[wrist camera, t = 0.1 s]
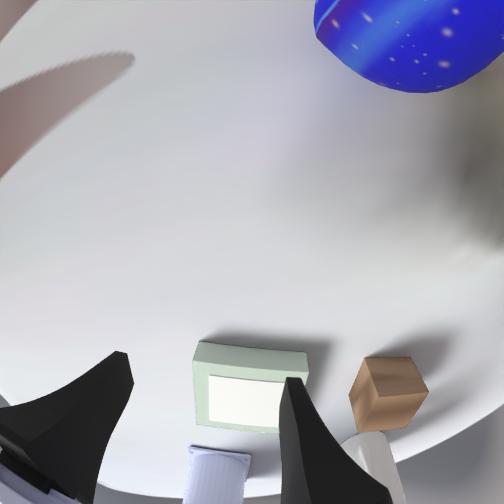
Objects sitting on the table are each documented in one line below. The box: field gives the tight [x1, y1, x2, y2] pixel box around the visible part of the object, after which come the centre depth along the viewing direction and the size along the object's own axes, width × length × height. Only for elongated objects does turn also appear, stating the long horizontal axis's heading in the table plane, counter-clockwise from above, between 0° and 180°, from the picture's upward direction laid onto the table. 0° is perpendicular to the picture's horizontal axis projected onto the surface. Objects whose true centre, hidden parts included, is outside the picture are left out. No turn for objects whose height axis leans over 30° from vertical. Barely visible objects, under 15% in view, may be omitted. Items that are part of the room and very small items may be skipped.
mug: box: [340, 431, 407, 504], centre depth 22 cm, size 10×7×12 cm, turn 20°
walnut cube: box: [349, 357, 429, 433], centre depth 22 cm, size 5×5×5 cm
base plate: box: [192, 341, 309, 434], centre depth 23 cm, size 9×9×3 cm
